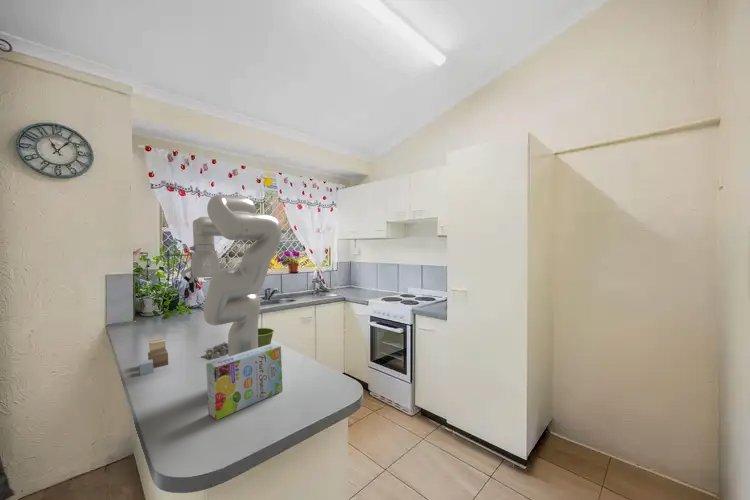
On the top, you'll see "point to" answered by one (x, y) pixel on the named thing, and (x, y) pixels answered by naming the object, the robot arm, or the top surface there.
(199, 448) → the top surface
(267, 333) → the plant pot
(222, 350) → the egg carton
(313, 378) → the top surface
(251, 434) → the top surface
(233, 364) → the snack box
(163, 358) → the walnut block
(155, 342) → the maple cube
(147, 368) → the slate cube
